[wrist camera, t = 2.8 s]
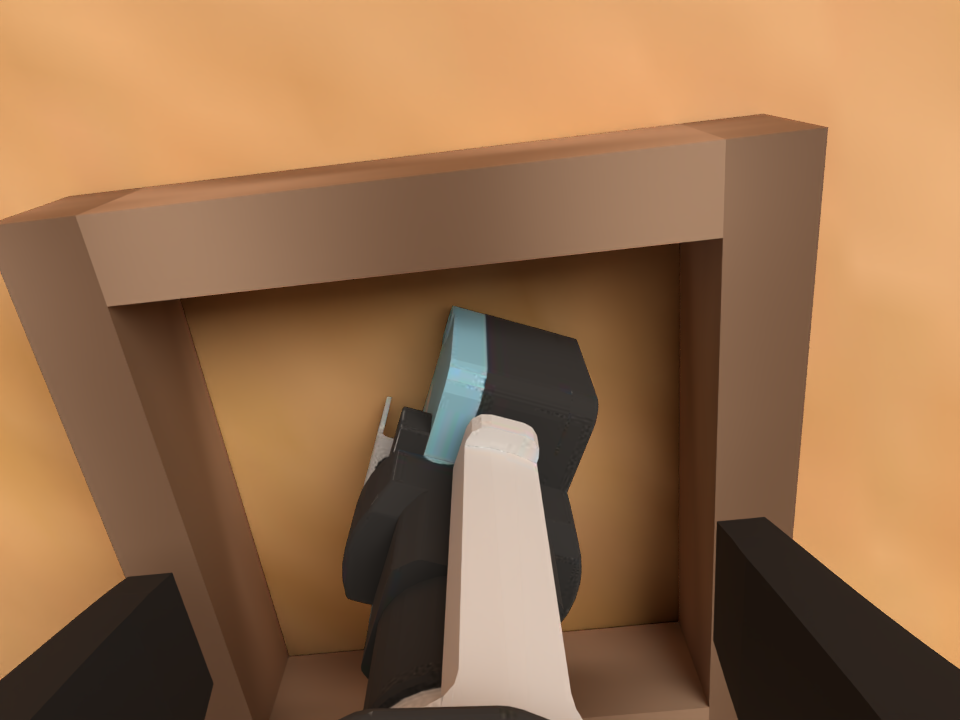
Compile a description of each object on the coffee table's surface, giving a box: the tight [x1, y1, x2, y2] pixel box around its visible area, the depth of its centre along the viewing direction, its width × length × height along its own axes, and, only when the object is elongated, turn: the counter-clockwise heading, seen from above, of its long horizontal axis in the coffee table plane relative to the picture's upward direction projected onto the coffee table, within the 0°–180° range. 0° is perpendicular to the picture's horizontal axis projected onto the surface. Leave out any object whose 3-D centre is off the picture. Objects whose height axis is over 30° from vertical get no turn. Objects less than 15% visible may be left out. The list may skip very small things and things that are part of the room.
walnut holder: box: [0, 114, 828, 720], centre depth 11 cm, size 10×11×2 cm
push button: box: [338, 306, 598, 720], centre depth 8 cm, size 7×5×10 cm
